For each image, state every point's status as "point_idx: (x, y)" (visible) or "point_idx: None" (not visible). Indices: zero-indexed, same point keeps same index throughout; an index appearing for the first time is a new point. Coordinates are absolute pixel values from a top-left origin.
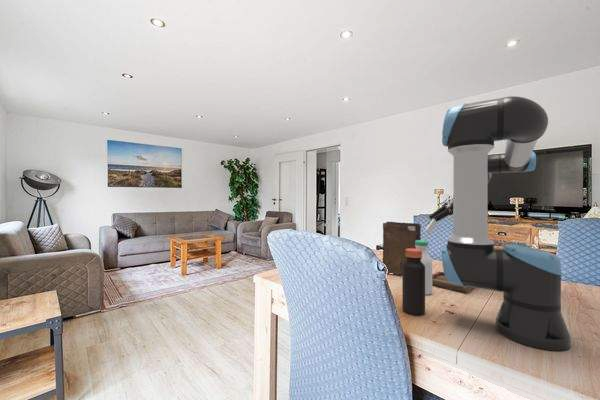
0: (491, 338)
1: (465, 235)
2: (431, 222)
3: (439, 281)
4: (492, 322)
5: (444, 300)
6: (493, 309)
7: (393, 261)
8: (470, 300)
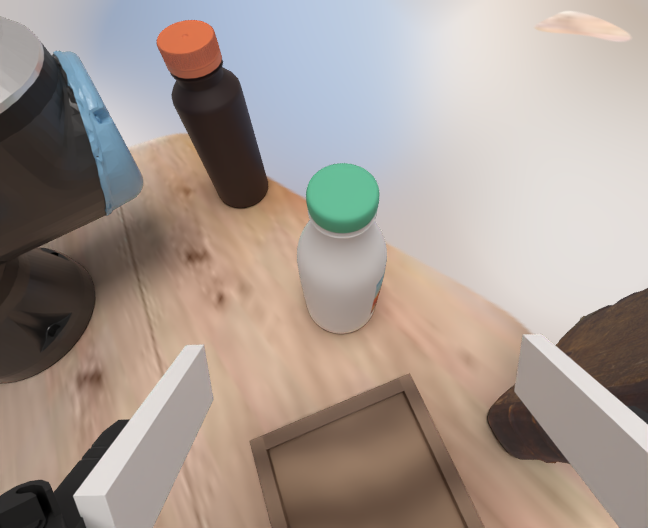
0: (83, 230)
1: None
2: (611, 413)
3: (355, 402)
4: (106, 298)
5: (254, 308)
6: (136, 386)
7: (593, 328)
8: (213, 389)
